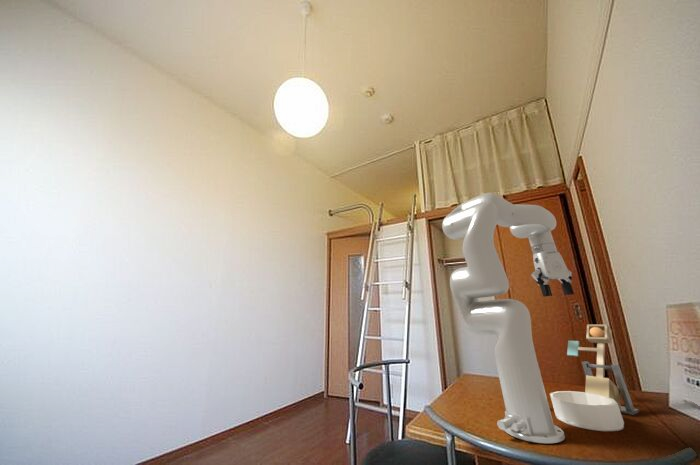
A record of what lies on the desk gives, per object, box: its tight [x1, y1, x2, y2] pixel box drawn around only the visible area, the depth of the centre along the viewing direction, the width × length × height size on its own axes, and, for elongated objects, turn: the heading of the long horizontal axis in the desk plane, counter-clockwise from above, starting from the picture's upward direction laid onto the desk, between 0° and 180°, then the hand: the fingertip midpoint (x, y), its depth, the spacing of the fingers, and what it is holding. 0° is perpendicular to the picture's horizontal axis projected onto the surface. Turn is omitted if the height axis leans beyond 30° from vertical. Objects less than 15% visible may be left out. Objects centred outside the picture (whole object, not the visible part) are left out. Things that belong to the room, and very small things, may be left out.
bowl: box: [549, 390, 625, 432], centre depth 68 cm, size 14×14×5 cm
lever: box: [566, 323, 622, 410], centre depth 81 cm, size 23×12×6 cm
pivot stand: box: [581, 361, 640, 416], centre depth 76 cm, size 4×9×12 cm, turn 27°
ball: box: [590, 327, 605, 337], centre depth 83 cm, size 4×4×4 cm
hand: (558, 295), depth 93 cm, fingers open, 9 cm apart
